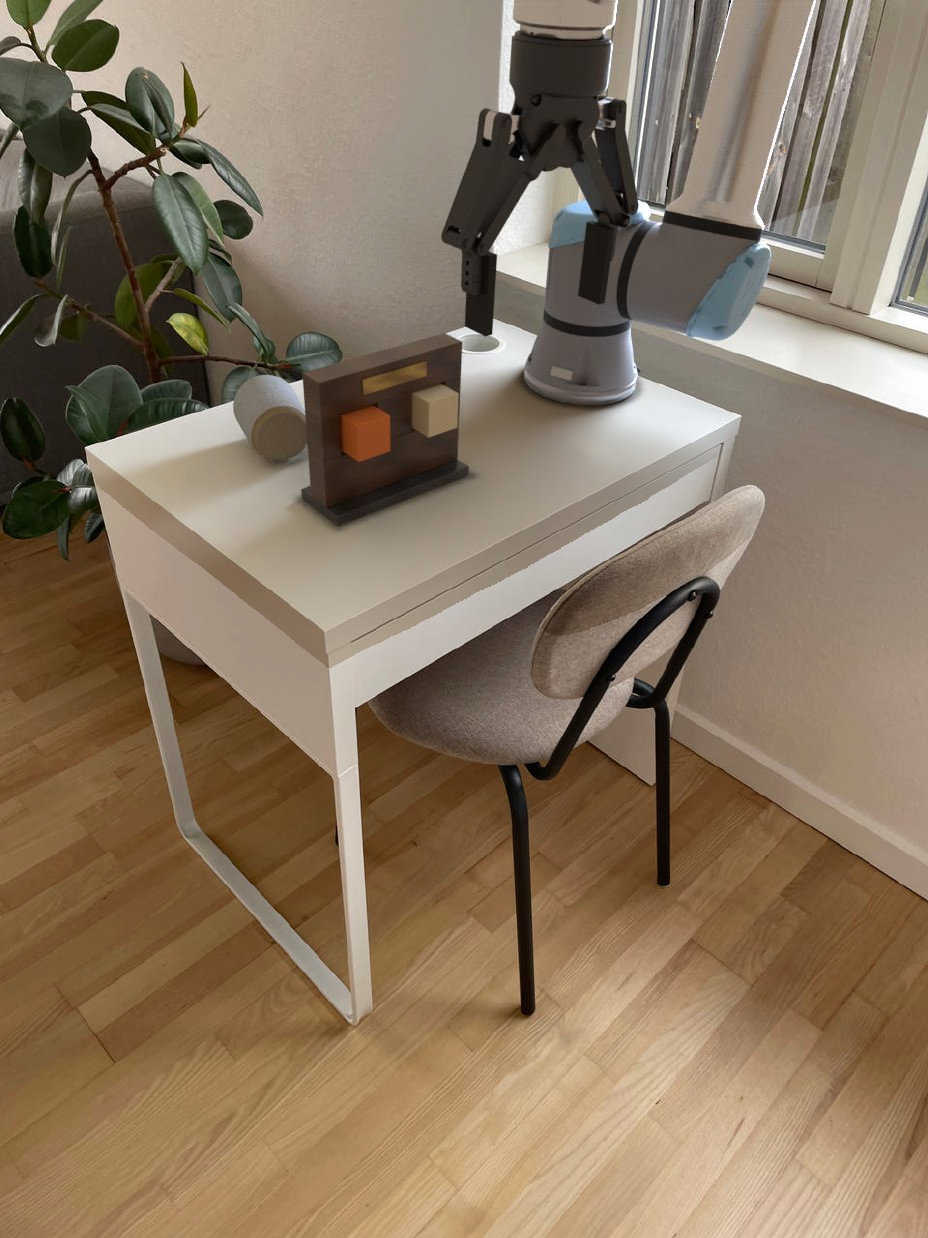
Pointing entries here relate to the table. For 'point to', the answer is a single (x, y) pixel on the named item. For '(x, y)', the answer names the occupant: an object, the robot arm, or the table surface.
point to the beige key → (434, 409)
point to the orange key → (365, 432)
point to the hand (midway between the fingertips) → (537, 314)
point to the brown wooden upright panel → (413, 456)
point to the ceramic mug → (271, 417)
